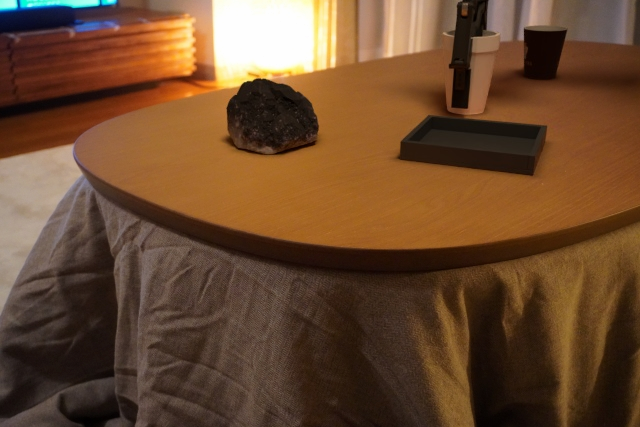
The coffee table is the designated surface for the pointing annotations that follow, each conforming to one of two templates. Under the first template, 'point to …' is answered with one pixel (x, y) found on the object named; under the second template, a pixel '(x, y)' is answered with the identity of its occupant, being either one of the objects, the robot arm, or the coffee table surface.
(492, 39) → the foam cup
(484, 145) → the tray
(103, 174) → the coffee table surface
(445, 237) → the coffee table surface
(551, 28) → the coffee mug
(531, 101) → the coffee table surface
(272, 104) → the crystal cluster
